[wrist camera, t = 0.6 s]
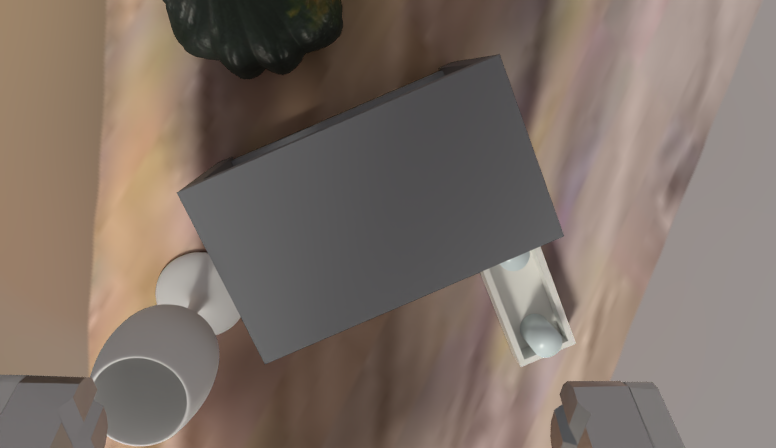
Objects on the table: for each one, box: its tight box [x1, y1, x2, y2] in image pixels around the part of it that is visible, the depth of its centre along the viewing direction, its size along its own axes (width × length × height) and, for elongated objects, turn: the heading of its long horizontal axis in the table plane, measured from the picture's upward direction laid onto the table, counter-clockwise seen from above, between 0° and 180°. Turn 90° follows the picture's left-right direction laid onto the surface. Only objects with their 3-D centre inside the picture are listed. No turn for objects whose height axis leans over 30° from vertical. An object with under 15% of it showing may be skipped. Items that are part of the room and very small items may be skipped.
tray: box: [480, 247, 576, 367], centre depth 61 cm, size 14×6×5 cm, turn 23°
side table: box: [177, 54, 564, 364], centre depth 52 cm, size 14×24×16 cm, turn 113°
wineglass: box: [90, 252, 241, 446], centre depth 51 cm, size 9×9×21 cm
